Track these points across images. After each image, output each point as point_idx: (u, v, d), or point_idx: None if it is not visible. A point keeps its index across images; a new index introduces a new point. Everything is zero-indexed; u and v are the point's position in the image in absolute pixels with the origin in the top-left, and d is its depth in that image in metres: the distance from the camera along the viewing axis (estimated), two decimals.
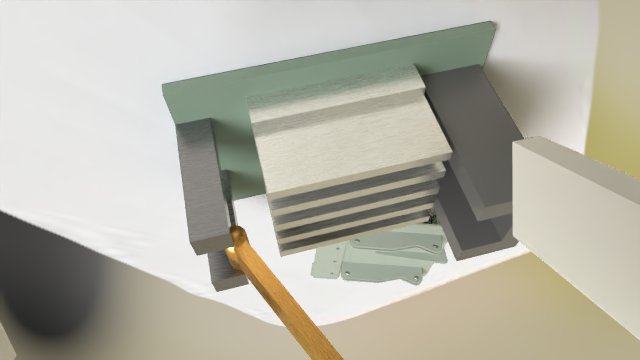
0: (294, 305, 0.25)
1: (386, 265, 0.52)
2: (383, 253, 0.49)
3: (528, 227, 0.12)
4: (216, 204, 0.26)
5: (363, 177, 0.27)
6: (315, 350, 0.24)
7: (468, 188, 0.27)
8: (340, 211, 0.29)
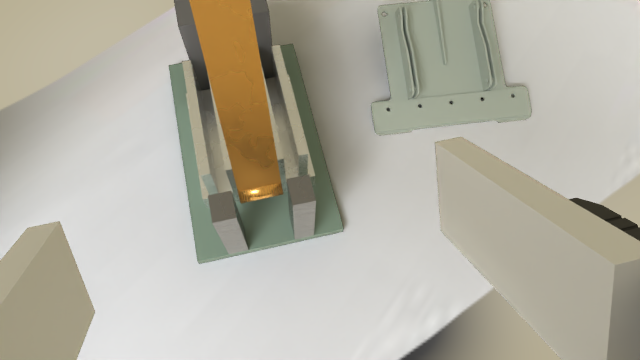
0: None
1: (474, 43, 0.47)
2: (443, 55, 0.46)
3: (450, 222, 0.13)
4: None
5: (197, 113, 0.37)
6: (216, 104, 0.29)
7: (193, 39, 0.38)
8: None
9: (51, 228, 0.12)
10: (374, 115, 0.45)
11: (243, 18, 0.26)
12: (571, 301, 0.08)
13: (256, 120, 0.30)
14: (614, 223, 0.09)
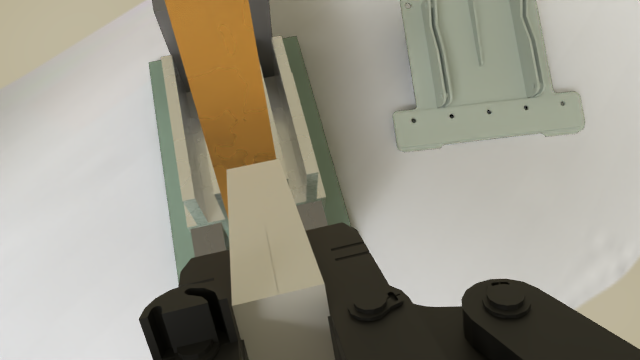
0: None
1: (516, 40, 0.39)
2: (479, 55, 0.38)
3: None
4: None
5: (179, 121, 0.30)
6: (198, 112, 0.21)
7: None
8: None
9: (250, 168, 0.13)
10: (397, 127, 0.37)
11: None
12: None
13: (252, 133, 0.23)
14: (351, 249, 0.10)
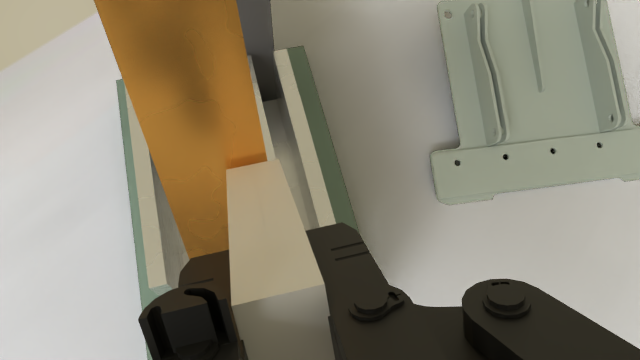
0: None
1: (585, 59, 0.31)
2: (539, 77, 0.30)
3: None
4: None
5: (147, 169, 0.22)
6: (158, 171, 0.13)
7: None
8: None
9: (250, 168, 0.13)
10: (436, 172, 0.29)
11: None
12: None
13: None
14: (351, 249, 0.10)
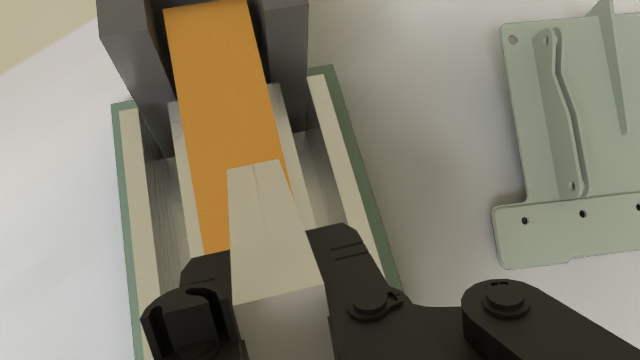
0: None
1: None
2: (623, 118, 0.25)
3: None
4: None
5: (147, 233, 0.17)
6: (197, 204, 0.15)
7: (140, 66, 0.17)
8: None
9: (250, 168, 0.13)
10: (499, 232, 0.24)
11: (245, 58, 0.17)
12: None
13: None
14: (351, 249, 0.10)
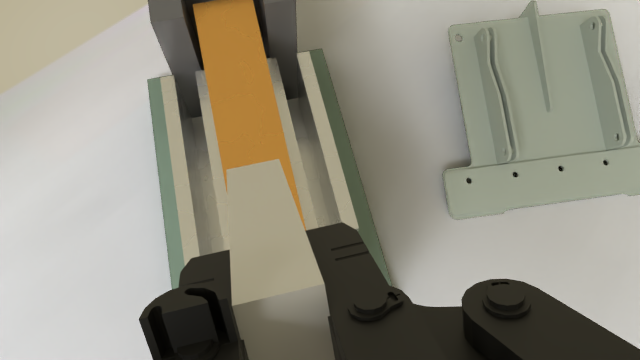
0: None
1: (591, 79, 0.32)
2: (547, 98, 0.31)
3: None
4: None
5: (182, 160, 0.24)
6: (217, 136, 0.22)
7: (176, 43, 0.24)
8: None
9: (250, 168, 0.13)
10: (448, 190, 0.30)
11: (251, 39, 0.24)
12: None
13: (270, 158, 0.22)
14: (351, 249, 0.10)
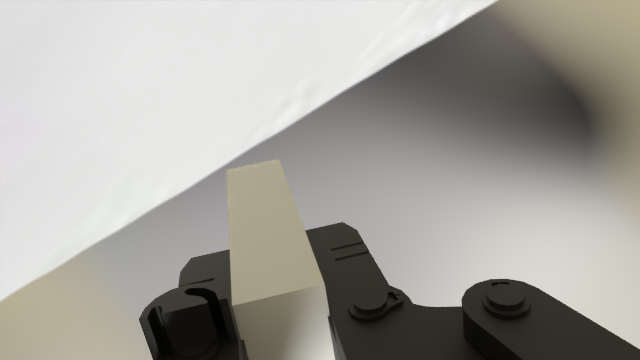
0: None
1: None
2: None
3: None
4: None
5: None
6: None
7: None
8: None
9: (250, 168, 0.13)
10: None
11: None
12: None
13: None
14: (351, 249, 0.10)
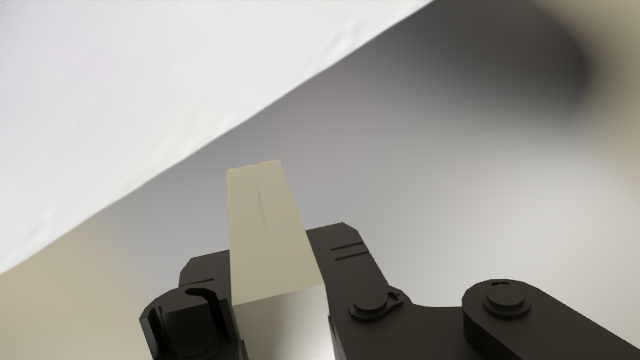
0: None
1: None
2: None
3: None
4: None
5: None
6: None
7: None
8: None
9: (250, 168, 0.13)
10: None
11: None
12: None
13: None
14: (351, 249, 0.10)
